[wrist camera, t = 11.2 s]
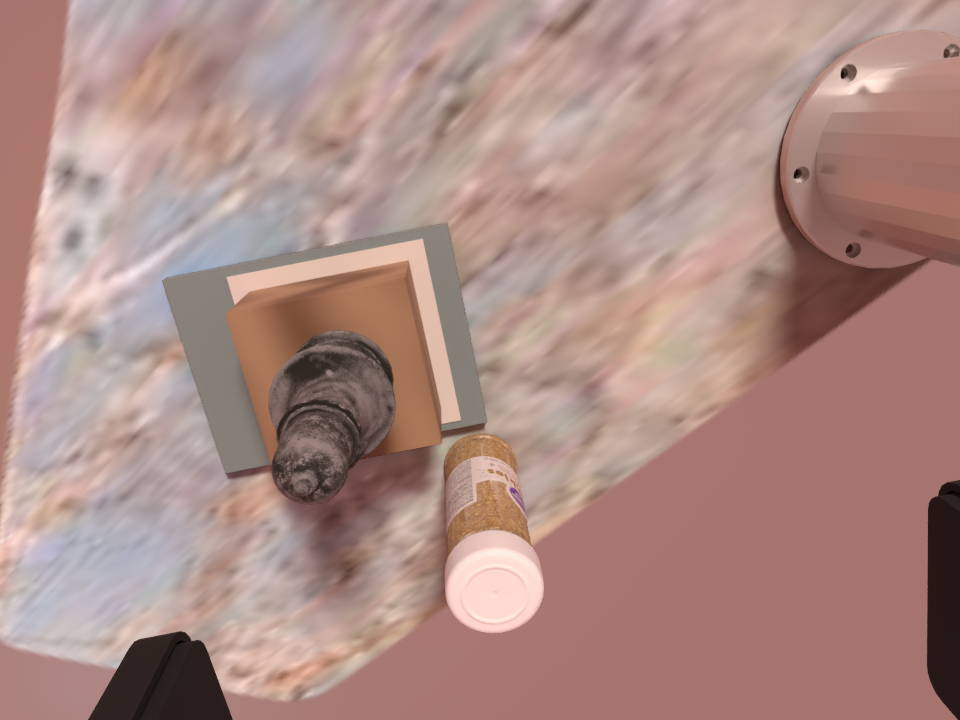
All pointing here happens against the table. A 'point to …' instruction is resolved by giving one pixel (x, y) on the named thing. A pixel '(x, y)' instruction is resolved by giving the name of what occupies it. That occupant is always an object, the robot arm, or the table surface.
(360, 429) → the dark grey chess piece
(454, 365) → the grey flat slab
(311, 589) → the table surface
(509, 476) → the sprinkles bottle
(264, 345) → the walnut block
